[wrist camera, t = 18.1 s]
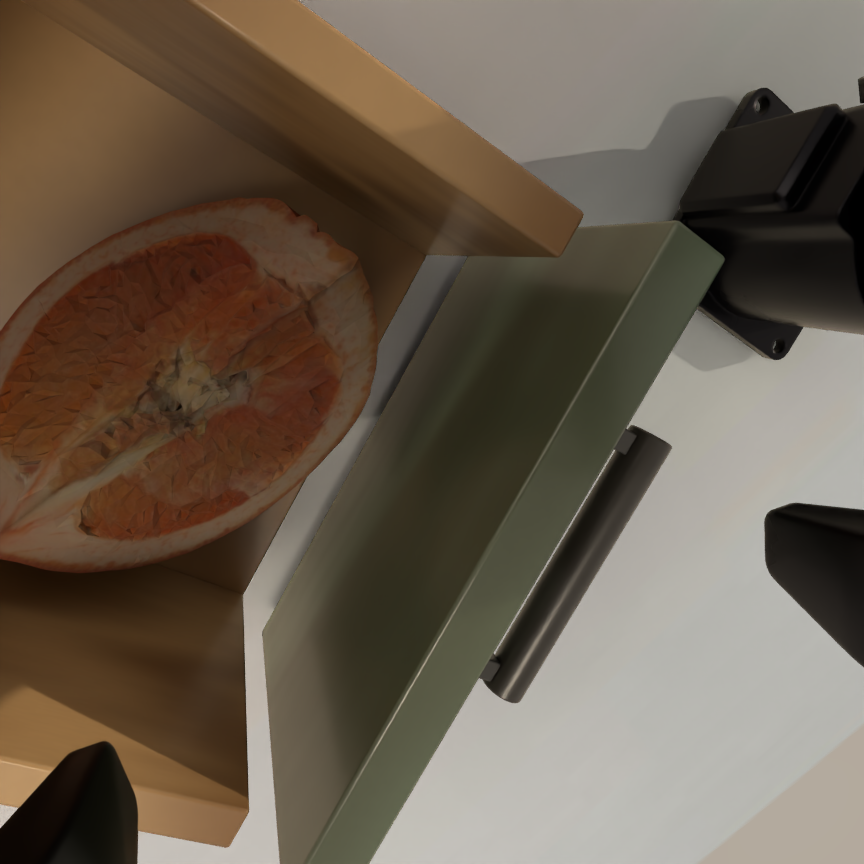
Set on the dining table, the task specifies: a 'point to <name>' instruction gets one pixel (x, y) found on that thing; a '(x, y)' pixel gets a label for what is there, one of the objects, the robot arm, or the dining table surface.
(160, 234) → the fruit slice
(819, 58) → the dining table surface
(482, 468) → the drawer
